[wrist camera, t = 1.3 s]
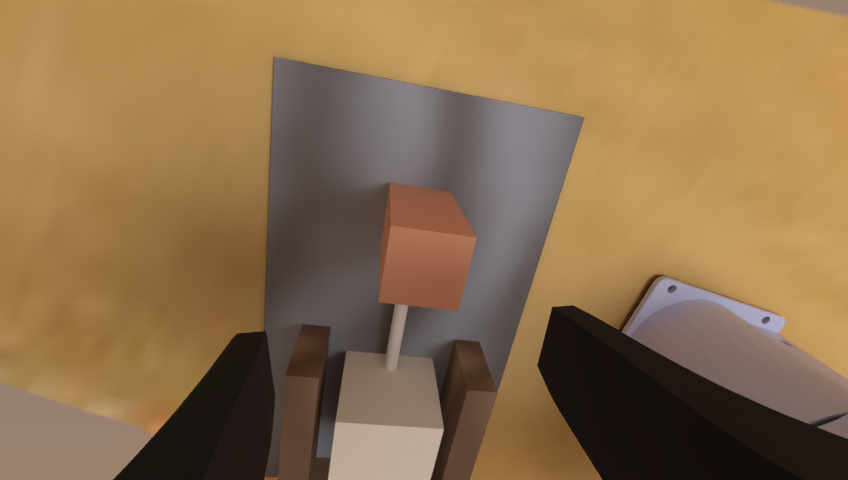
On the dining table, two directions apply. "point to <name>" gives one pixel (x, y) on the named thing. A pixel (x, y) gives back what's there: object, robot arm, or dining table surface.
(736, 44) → the dining table surface
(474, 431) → the panel
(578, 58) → the dining table surface
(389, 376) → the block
